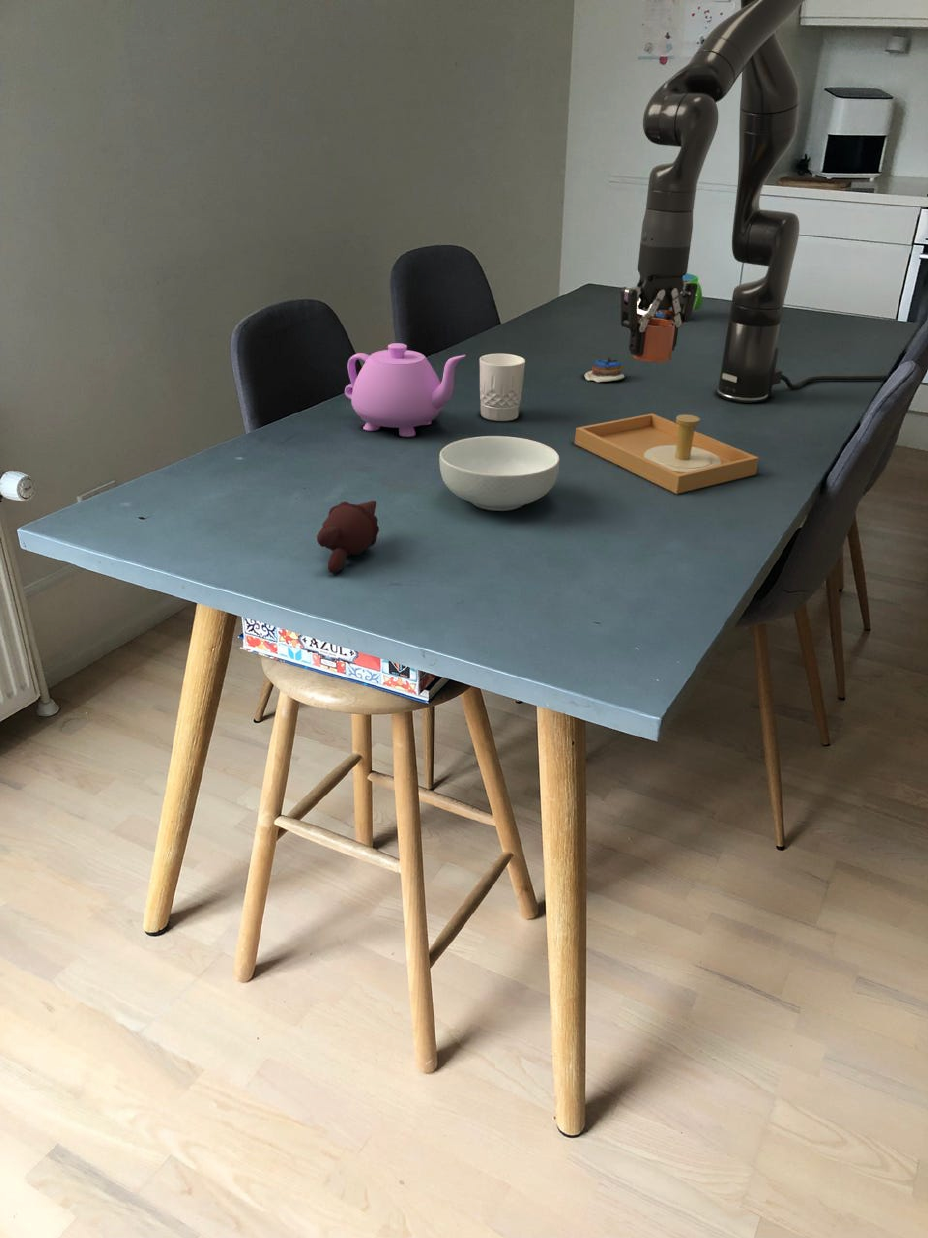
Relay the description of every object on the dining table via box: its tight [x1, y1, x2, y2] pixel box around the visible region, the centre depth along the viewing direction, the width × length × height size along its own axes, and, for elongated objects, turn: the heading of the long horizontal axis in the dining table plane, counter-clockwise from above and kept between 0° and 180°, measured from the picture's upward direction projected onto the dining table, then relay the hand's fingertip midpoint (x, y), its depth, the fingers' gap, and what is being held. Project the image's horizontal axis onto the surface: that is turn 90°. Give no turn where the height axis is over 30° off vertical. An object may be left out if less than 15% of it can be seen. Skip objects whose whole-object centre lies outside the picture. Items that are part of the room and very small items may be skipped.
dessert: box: [584, 356, 626, 383], centre depth 200 cm, size 8×7×6 cm
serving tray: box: [574, 412, 759, 495], centre depth 161 cm, size 17×25×3 cm
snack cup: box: [655, 272, 703, 319], centre depth 246 cm, size 16×10×10 cm
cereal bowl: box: [438, 435, 561, 512], centre depth 143 cm, size 17×17×7 cm
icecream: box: [316, 500, 380, 574], centre depth 127 cm, size 7×7×15 cm
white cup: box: [479, 353, 526, 422], centre depth 176 cm, size 8×8×10 cm
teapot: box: [344, 342, 466, 438], centre depth 168 cm, size 22×16×14 cm
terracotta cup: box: [632, 317, 675, 363], centre depth 158 cm, size 6×6×6 cm
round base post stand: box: [644, 413, 721, 474], centre depth 156 cm, size 12×12×7 cm
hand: (652, 352), depth 159 cm, fingers closed on terracotta cup, 6 cm apart
